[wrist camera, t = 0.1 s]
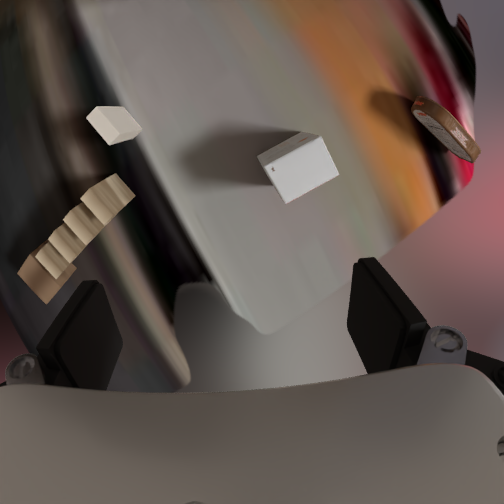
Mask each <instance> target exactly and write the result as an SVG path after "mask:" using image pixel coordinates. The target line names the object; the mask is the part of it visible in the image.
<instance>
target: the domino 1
mask: <svg viewBox="0 0 504 504" xmlns="http://www.w3.org/2000/svg"><path fill="white" fill-rule="evenodd" d="M86 118H87V120H88V121H89V122H90V123H91V124H92V126H93V127H94V128H95V129H96V130H97V132H98V133H99V134H100V135H101V136H102V137H103V139H104V140H105V141H106V142H107V143H108V145H112V144H115V143H118V142H122V141H125V140H129V139H133V138H134V137H135V136H136V135H138V134H139V133H140V132H141V131H142V130H143V129H142V128H141V127H140V125H139V124H138V123H137V122H136V121H135V120H134V119H133V117H132V116H131V115H130V114H129V113H128V112H127V110H126V109H125V108H124V107H110V106H96V108H95V109H94V110H93V111H92V112H91V113H90V114H89V115H88V116H87V117H86Z"/></svg>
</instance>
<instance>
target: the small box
mask: <svg viewBox="0 0 504 504" xmlns="http://www.w3.org/2000/svg"><path fill="white" fill-rule="evenodd" d="M257 158H258V160H259V162H260V164H261V165H262V167H263V169H264V171H265V173H266V174H267V176H268V178H269V179H270V181H271V183H272V184H273V186H274V187H275V189H276V191H277V192H278V194H279V195H280V197H281V199H282V200H283V202H284V203H285V204H287V203H289V202H291V201H293V200H295V199H296V198H298V197H300V196H302V195H304V194H305V193H307V192H309V191H311V190H313V189H314V188H316V187H318V186H320V185H322V184H324V183H325V182H327V181H329V180H331V179H333V178H335V177H336V176H339V173H338V170H337V168H336V166H335V164H334V162H333V160H332V158H331V156H330V154H329V151H328V149H327V147H326V145H325V143H324V141H323V139H322V137H321V136H319V135H314V134H310V133H305V132H300V133H298V134H296V135H295V136H293V137H291V138H289V139H287V140H285V141H283V142H282V143H280V144H278V145H276V146H274V147H272V148H271V149H269V150H267V151H265V152H263V153H262V154H260V155H258V156H257Z"/></svg>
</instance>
